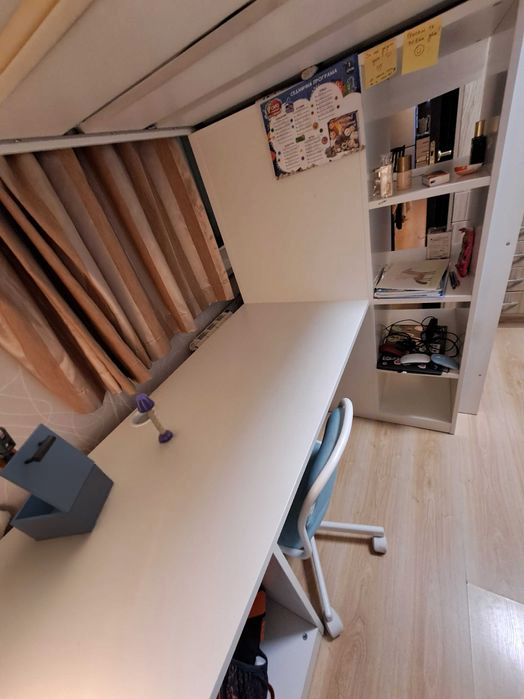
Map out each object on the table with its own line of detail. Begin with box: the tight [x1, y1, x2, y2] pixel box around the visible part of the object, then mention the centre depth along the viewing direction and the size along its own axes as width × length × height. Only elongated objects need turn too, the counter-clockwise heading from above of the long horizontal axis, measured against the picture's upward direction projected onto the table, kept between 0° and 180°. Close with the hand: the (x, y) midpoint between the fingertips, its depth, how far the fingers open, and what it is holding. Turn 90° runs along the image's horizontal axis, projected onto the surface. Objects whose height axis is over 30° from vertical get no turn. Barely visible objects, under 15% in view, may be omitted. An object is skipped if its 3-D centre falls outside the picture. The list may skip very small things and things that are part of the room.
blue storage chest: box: [9, 463, 115, 542], centre depth 72 cm, size 16×13×9 cm
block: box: [0, 447, 18, 472], centre depth 63 cm, size 4×4×4 cm
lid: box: [0, 422, 96, 513], centre depth 64 cm, size 16×13×5 cm
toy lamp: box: [134, 393, 173, 444], centre depth 83 cm, size 5×5×17 cm
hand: (7, 466), depth 64 cm, fingers closed on block, 4 cm apart
